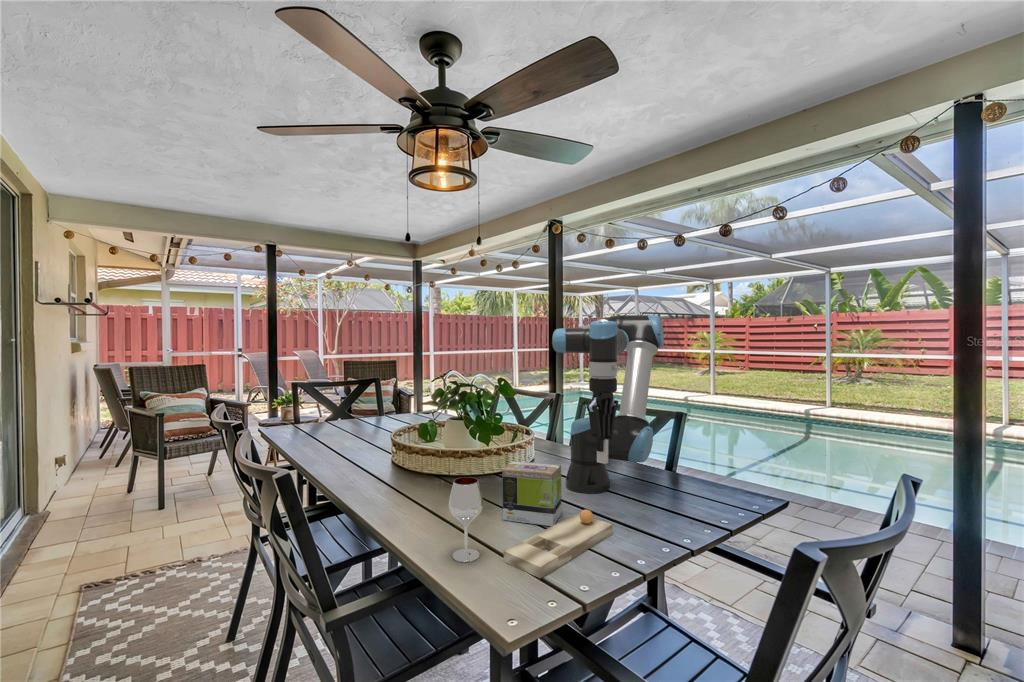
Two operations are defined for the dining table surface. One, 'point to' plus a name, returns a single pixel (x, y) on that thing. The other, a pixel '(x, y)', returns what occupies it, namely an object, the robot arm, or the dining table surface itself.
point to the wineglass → (465, 511)
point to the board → (556, 545)
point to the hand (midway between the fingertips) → (602, 462)
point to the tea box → (532, 492)
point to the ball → (586, 516)
